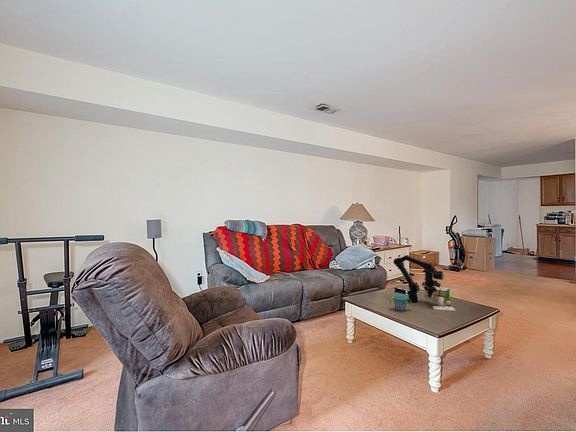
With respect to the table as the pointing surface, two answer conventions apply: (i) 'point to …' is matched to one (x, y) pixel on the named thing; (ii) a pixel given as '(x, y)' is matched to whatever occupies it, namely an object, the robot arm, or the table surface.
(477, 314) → the table surface
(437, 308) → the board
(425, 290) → the maple block
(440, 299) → the ceramic cylinder
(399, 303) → the snack cup
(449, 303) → the rubber ball
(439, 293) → the puzzle cube
